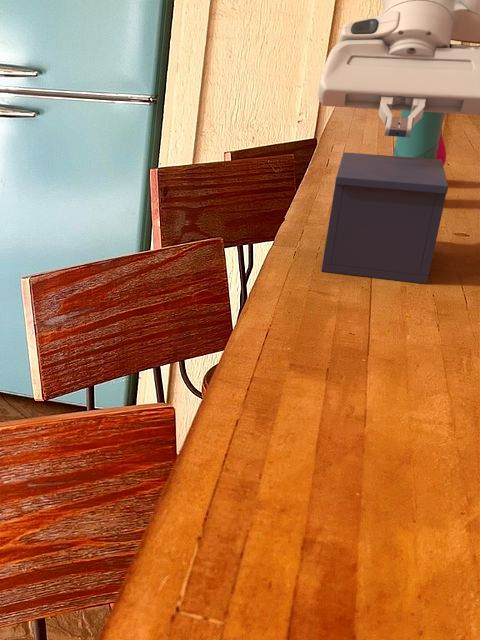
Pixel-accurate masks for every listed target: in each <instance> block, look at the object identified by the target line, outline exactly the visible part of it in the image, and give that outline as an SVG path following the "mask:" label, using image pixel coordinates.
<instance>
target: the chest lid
mask: <svg viewBox="0 0 480 640" xmlns="http://www.w3.org/2000/svg"><path fill="white" fill-rule="evenodd" d="M445 171H446V170H445V168H444V165H443V163H442V160H439V159H426V158H413V157H399V156H393V155H385V154H384V155H383V154H371V153H360V152H359V153H358V152H357V153H356V152H355V153H354V152H345V151H344V152H343V153H342V155H341V159H340V163H339V167H338V169H337V173H336V177H335V181H334V185H335V184H337V185H349V186H360V187H372V188H383V189H395V190H407V191H418V192H430V193H441V194H446V195H447V194H448V190H449V184H448V180H447V176H446V172H445Z"/></svg>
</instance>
